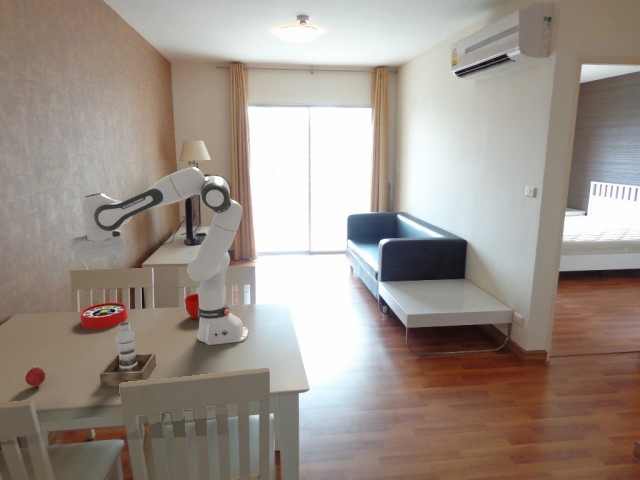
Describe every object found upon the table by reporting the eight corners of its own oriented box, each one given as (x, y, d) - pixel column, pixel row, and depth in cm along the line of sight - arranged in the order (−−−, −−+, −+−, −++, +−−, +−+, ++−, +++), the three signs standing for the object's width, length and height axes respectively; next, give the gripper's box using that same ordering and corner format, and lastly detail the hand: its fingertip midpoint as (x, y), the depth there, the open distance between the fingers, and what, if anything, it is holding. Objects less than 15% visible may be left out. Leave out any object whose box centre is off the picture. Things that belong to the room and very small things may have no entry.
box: (156, 365, 165) (155, 353, 164) (143, 385, 151) (142, 372, 150) (117, 366, 164) (116, 354, 163) (101, 386, 150) (99, 374, 148)
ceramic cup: (222, 311, 219) (221, 293, 217) (200, 323, 204) (199, 304, 202) (202, 307, 224) (201, 289, 222) (180, 319, 209) (178, 300, 207)
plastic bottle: (133, 379, 154) (128, 328, 150) (115, 378, 154) (110, 327, 150) (142, 370, 160) (137, 321, 156) (125, 369, 161) (120, 320, 156)
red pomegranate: (33, 382, 152) (30, 362, 151) (50, 381, 153) (47, 361, 151) (23, 391, 147) (20, 370, 145) (41, 390, 147) (37, 369, 145)
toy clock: (104, 300, 219) (135, 305, 212) (105, 311, 220) (136, 316, 214) (70, 314, 201) (102, 320, 194) (71, 326, 202) (104, 332, 195)
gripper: (72, 239, 160) (76, 274, 163) (126, 231, 175) (129, 263, 178) (66, 236, 164) (70, 271, 167) (119, 229, 179) (122, 261, 182)
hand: (101, 267), depth 173 cm, fingers open, 8 cm apart
